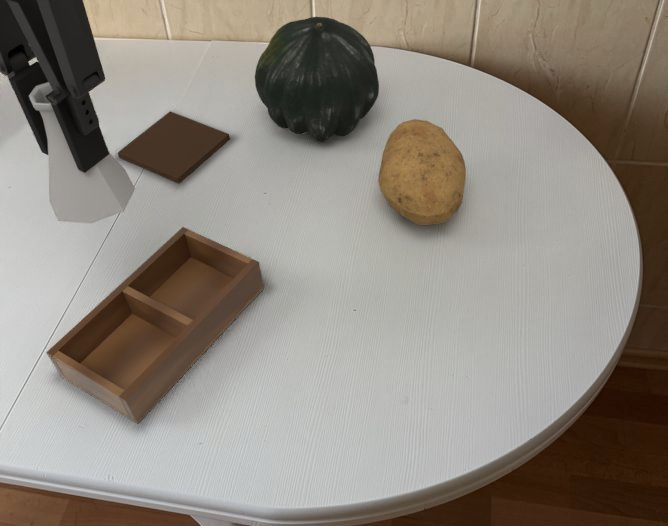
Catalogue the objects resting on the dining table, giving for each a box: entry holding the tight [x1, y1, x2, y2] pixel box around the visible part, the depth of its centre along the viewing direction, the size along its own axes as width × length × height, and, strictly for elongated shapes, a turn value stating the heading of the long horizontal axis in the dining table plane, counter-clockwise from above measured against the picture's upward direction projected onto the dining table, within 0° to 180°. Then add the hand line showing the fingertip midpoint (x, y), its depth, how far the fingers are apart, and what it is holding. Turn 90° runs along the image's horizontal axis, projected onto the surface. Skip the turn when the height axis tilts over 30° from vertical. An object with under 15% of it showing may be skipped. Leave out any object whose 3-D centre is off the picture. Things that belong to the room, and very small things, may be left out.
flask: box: [29, 82, 136, 224], centre depth 56 cm, size 7×7×10 cm
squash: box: [254, 16, 380, 143], centre depth 86 cm, size 14×15×15 cm
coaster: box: [117, 110, 231, 184], centre depth 88 cm, size 10×10×1 cm
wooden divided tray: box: [46, 226, 265, 425], centre depth 69 cm, size 10×19×4 cm, turn 147°
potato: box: [377, 118, 467, 226], centre depth 77 cm, size 10×14×8 cm
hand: (75, 152), depth 56 cm, fingers closed on flask, 3 cm apart
